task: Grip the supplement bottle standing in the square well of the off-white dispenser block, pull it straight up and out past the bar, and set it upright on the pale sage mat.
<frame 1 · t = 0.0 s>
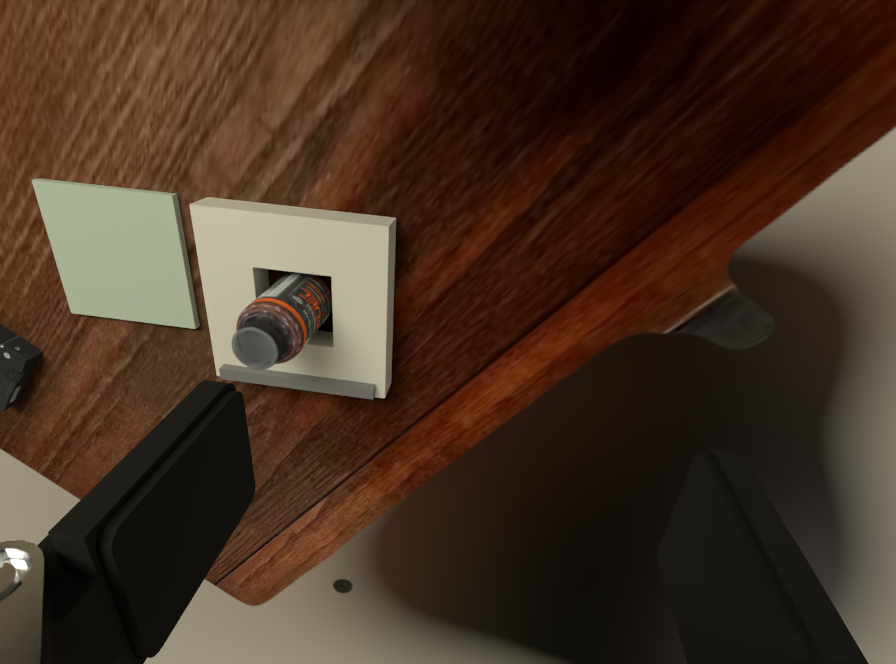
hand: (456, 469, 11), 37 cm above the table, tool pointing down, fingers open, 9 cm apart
supplement bottle: (306, 295, 51), resting in dispenser block
dispenser block: (305, 296, 51), on the table
sage mat: (123, 256, 51), on the table
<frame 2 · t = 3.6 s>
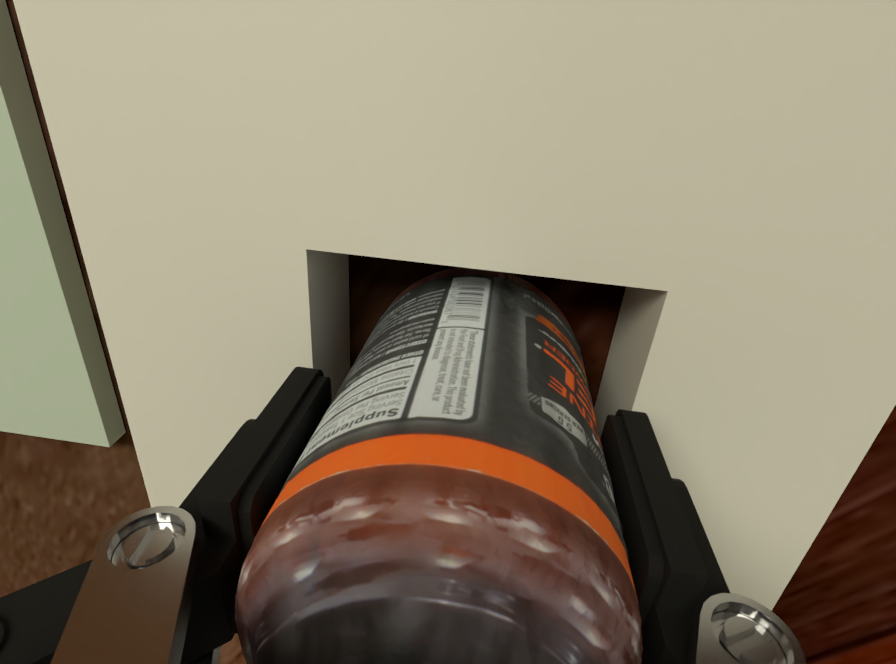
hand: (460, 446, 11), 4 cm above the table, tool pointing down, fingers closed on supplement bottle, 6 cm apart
supplement bottle: (475, 351, 15), resting in dispenser block, touching gripper
dispenser block: (474, 354, 15), on the table
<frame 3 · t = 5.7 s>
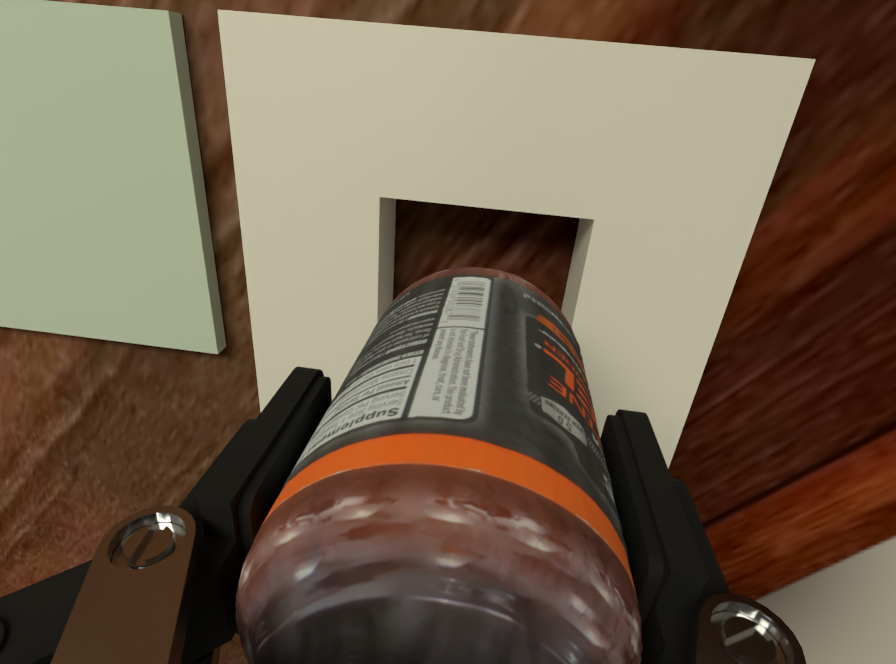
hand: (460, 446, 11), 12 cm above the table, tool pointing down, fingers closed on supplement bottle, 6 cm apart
supplement bottle: (475, 351, 15), point 7 cm above the table, touching gripper
dispenser block: (478, 279, 22), on the table
sage mat: (54, 187, 22), on the table
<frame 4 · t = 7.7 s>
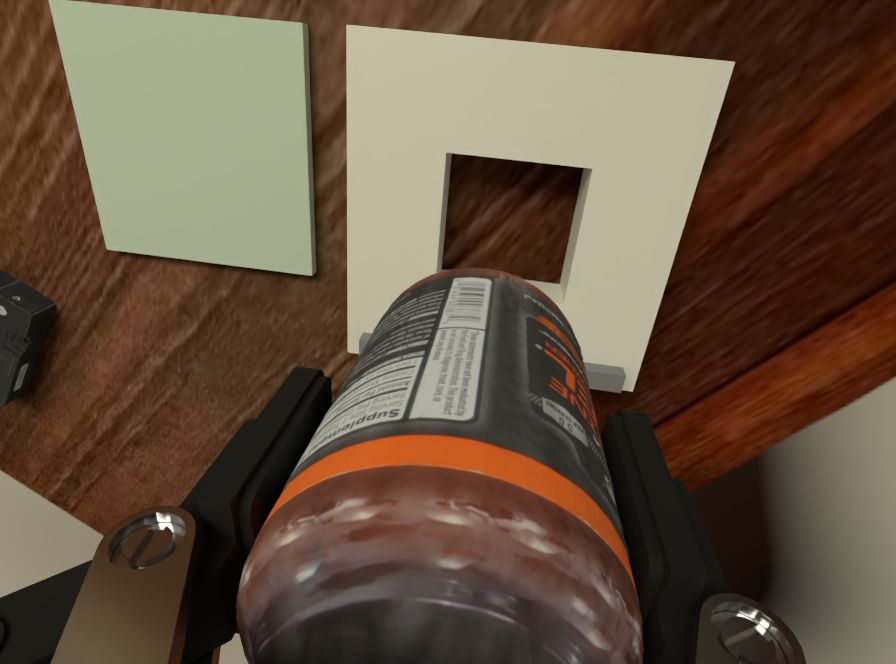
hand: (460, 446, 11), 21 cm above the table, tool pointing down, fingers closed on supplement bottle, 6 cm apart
supplement bottle: (475, 351, 15), point 17 cm above the table, touching gripper
dispenser block: (508, 218, 30), on the table
sage mat: (200, 148, 30), on the table
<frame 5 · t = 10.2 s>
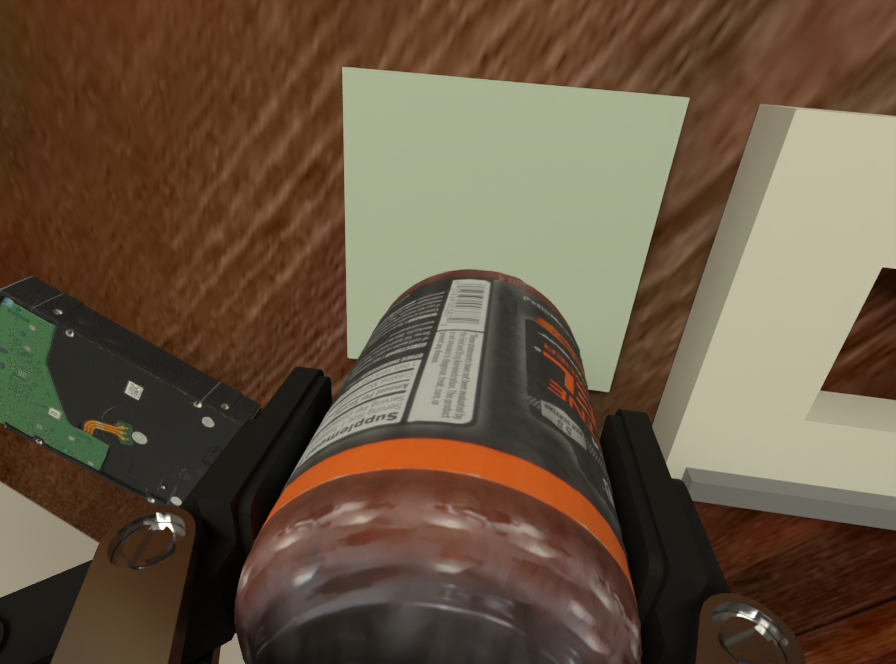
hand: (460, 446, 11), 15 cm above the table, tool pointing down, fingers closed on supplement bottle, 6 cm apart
disk drive: (136, 392, 32), on the table
supplement bottle: (475, 353, 15), point 11 cm above the table, touching gripper
dispenser block: (887, 329, 24), on the table
sage mat: (492, 243, 24), on the table
when the fingers open (6 cm above the table, at t = 12.2 s): supplement bottle drops 1 cm, resting on sage mat.
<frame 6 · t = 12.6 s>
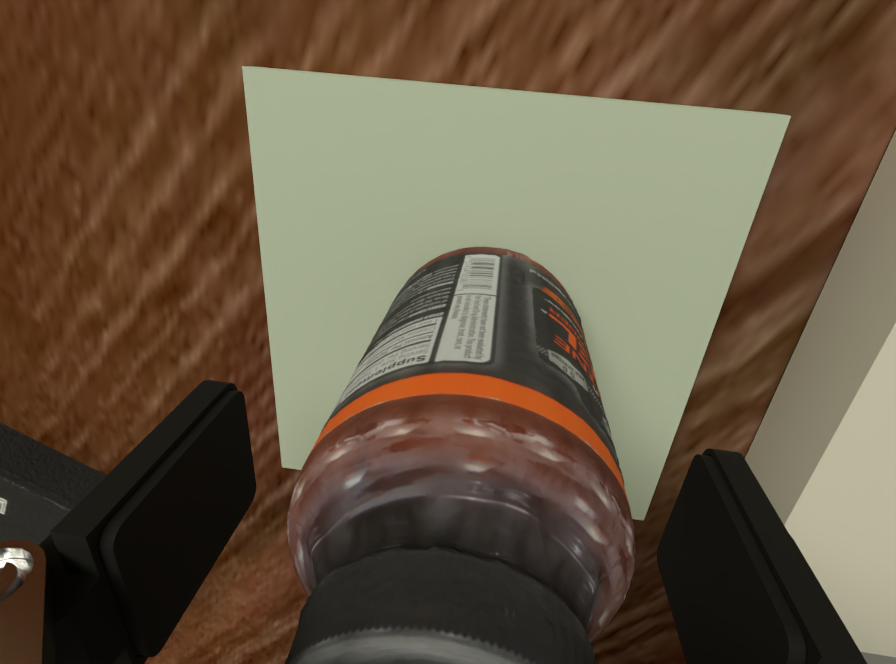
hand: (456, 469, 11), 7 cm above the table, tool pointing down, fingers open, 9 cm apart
disk drive: (20, 490, 25), on the table
supplement bottle: (484, 326, 16), point 1 cm above the table, touching sage mat
sage mat: (479, 321, 17), on the table
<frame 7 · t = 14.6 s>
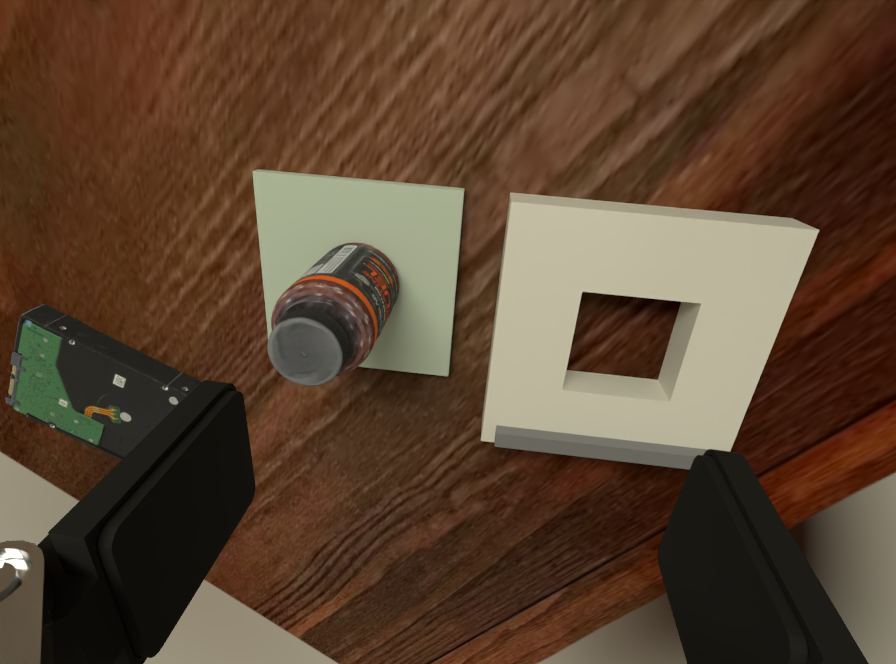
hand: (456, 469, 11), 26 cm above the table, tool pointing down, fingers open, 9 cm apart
disk drive: (122, 386, 44), on the table
supplement bottle: (361, 279, 36), point 1 cm above the table, touching sage mat
dispenser block: (618, 330, 37), on the table
sage mat: (360, 277, 37), on the table
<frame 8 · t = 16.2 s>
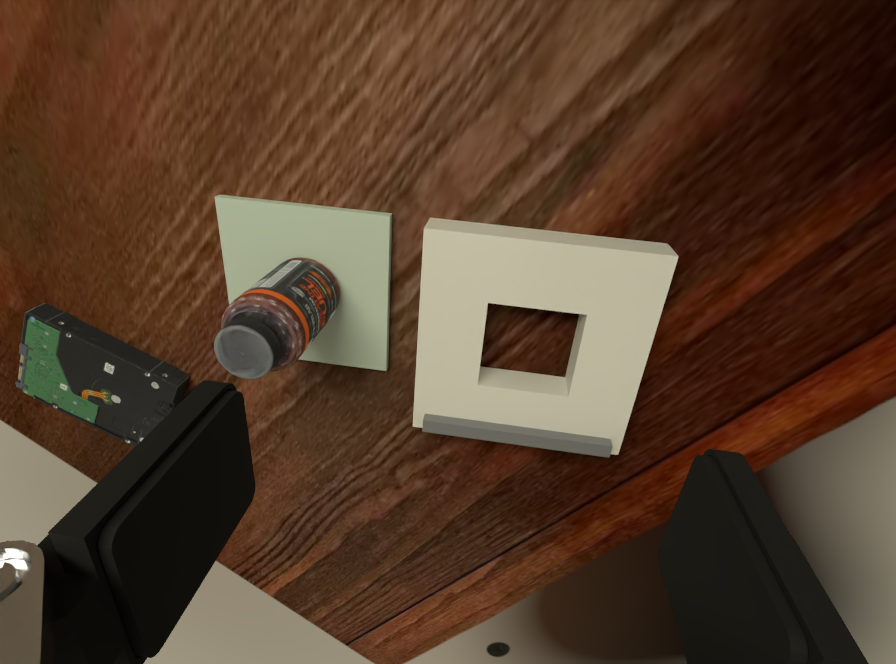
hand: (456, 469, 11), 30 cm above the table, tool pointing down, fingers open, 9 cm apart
disk drive: (114, 373, 51), on the table
supplement bottle: (308, 287, 42), point 1 cm above the table, touching sage mat
dispenser block: (528, 334, 43), on the table
sage mat: (309, 286, 43), on the table
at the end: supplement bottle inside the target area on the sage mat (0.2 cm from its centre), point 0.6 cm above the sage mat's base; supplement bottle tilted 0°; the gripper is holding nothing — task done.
